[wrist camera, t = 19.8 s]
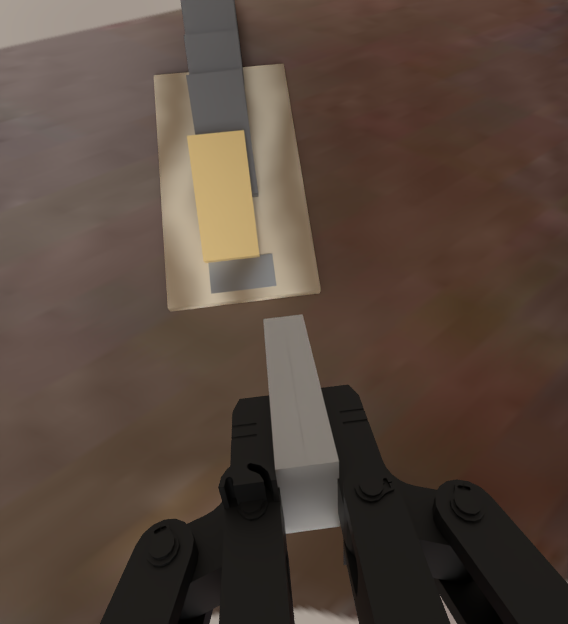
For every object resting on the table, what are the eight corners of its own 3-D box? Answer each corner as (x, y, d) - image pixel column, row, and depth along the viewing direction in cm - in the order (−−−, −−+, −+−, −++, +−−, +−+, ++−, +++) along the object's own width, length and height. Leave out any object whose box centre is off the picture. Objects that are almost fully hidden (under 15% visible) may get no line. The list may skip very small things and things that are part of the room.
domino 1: (247, 114, 39) (232, -1, 38) (246, 107, 38) (231, -13, 36) (199, 119, 39) (182, 4, 38) (196, 112, 37) (179, -8, 36)
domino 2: (252, 156, 38) (238, 40, 37) (252, 151, 36) (237, 30, 35) (203, 162, 38) (186, 45, 37) (200, 157, 36) (183, 34, 35)
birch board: (283, 71, 42) (283, 62, 41) (319, 293, 36) (320, 289, 35) (156, 83, 41) (153, 74, 40) (170, 311, 35) (167, 308, 34)
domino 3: (258, 196, 37) (242, 78, 36) (258, 193, 35) (241, 69, 34) (207, 202, 37) (189, 83, 35) (205, 199, 35) (185, 75, 34)
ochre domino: (259, 256, 35) (244, 137, 35) (259, 254, 34) (244, 130, 33) (206, 263, 35) (190, 143, 34) (203, 261, 33) (186, 135, 33)
